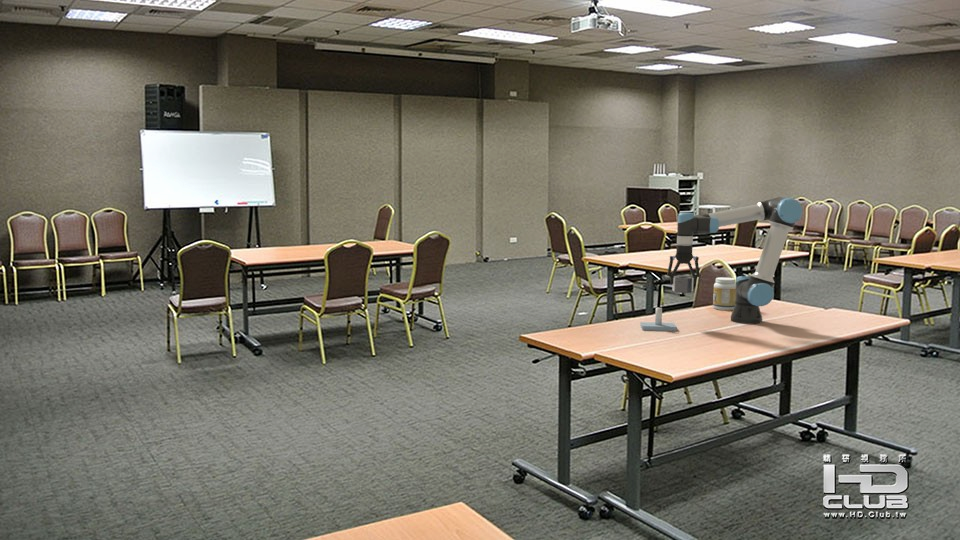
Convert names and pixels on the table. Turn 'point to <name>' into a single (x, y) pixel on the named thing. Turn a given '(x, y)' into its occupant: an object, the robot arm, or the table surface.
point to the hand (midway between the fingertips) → (682, 290)
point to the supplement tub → (724, 293)
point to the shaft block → (658, 323)
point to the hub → (683, 284)
